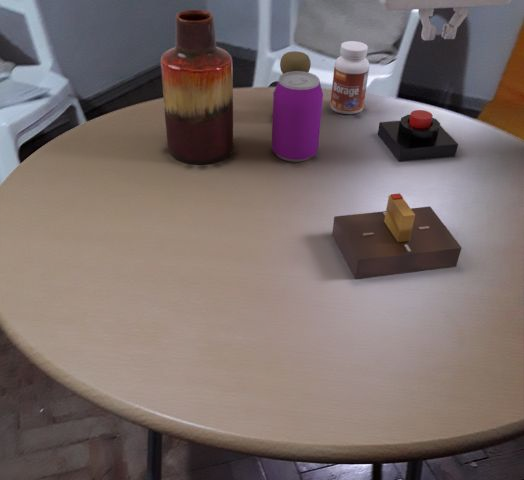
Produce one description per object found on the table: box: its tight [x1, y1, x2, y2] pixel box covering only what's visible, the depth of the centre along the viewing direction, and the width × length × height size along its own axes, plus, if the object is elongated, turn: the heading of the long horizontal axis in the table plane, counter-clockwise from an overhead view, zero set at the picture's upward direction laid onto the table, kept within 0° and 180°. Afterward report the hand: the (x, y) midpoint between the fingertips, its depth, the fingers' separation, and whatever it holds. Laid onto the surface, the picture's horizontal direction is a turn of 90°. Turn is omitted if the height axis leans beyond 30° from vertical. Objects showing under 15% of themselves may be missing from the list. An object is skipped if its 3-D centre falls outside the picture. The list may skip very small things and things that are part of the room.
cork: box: [279, 50, 312, 74], centre depth 109 cm, size 6×6×11 cm
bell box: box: [377, 114, 459, 163], centre depth 105 cm, size 10×10×4 cm
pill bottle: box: [329, 40, 371, 115], centre depth 113 cm, size 6×6×11 cm
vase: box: [160, 9, 234, 165], centre depth 97 cm, size 11×11×20 cm
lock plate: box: [331, 206, 462, 280], centre depth 84 cm, size 14×10×3 cm
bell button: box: [409, 109, 434, 128], centre depth 104 cm, size 4×4×2 cm
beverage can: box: [271, 71, 324, 163], centre depth 100 cm, size 8×8×12 cm
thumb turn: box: [384, 192, 415, 242], centre depth 81 cm, size 5×2×4 cm, turn 13°
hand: (437, 38), depth 95 cm, fingers closed
